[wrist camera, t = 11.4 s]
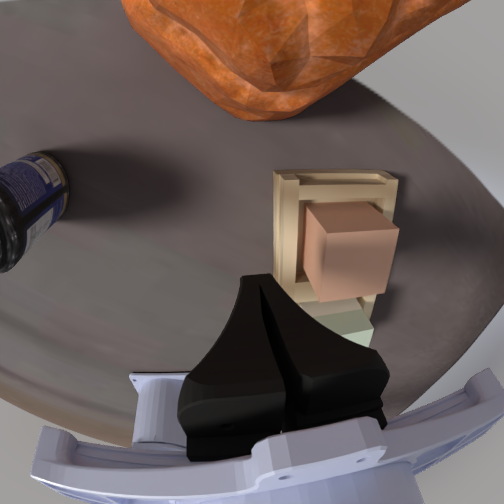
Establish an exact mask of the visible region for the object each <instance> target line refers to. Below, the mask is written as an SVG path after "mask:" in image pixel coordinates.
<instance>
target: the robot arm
mask: <svg viewBox="0 0 504 504" xmlns="http://www.w3.org/2000/svg"><path fill="white" fill-rule="evenodd" d="M389 377H390V374H389V370H388V368H387V366H386V365H385V363H384V361H383V359H382V358H381V356H380V355H379V354H378V352H377V351H376V350H374V349H371V348H368V347H365V346H363V345H360V344H357V343H355V342H353V341H351V340H349V339H347V338H344V337H342V336H341V335H339V334H337V333H335V332H333V331H332V330H330V329H328V328H327V327H325V326H324V325H322V324H321V323H319V322H318V321H317V320H315V319H314V318H313V317H311V316H310V315H309V314H308V313H307V312H305V311H304V310H303V309H302V308H301V307H300V306H299V305H298V304H297V303H296V302H295V301H294V300H293V299H292V298H291V297H290V296H289V295H288V294H287V293H286V292H285V291H284V289H283V288H282V287H281V286H280V285H279V283H278V282H277V281H276V280H275V278H274V277H273V276H272V275H271V274H270V273H269V274H258V275H246V276H242V277H241V278H240V288H239V292H238V296H237V299H236V302H235V305H234V308H233V310H232V313H231V315H230V318H229V320H228V322H227V324H226V326H225V328H224V329H223V331H222V333H221V335H220V336H219V338H218V339H217V341H216V342H215V344H214V345H213V347H212V348H211V349H210V351H209V352H208V353H207V354H206V355H205V357H204V358H203V359H202V360H201V361H200V363H199V364H198V365H197V366H196V367H195V368H194V369H193V370H192V371H191V372H190V373H131V374H130V376H129V378H130V379H131V381H132V383H133V385H134V387H135V388H136V390H137V392H138V394H139V399H138V405H137V412H136V419H135V426H134V434H133V442H132V446H131V448H122V447H114V446H105V445H100V444H93V443H87V442H82V441H77V439H76V438H75V437H74V436H73V435H72V434H70V433H69V432H67V431H64V430H61V429H56V428H52V427H48V426H42V429H41V432H40V436H39V440H38V444H37V447H36V451H35V455H34V459H33V464H32V468H31V473H30V476H31V477H32V478H34V479H35V480H37V481H39V482H40V483H42V484H44V485H46V486H47V487H49V488H51V489H53V490H54V491H56V492H58V493H60V494H62V495H64V496H66V497H69V498H73V499H76V500H79V501H83V502H87V503H91V504H424V501H423V498H422V496H421V493H420V490H419V488H418V485H417V482H416V480H415V477H414V475H416V474H418V473H420V472H422V471H424V470H426V469H428V468H430V467H431V466H433V465H435V464H437V463H439V462H441V461H442V460H444V459H445V458H447V457H449V456H451V455H452V454H454V453H456V452H457V451H459V450H460V449H462V448H464V447H465V446H467V445H468V444H470V443H472V442H473V441H475V440H476V439H478V438H479V437H481V436H482V435H484V434H485V433H486V432H487V431H488V430H489V429H491V428H492V427H493V426H494V425H495V424H496V423H497V421H499V420H500V419H501V418H502V417H503V416H504V389H503V387H502V386H501V384H500V382H499V381H498V380H497V378H496V377H495V375H494V374H493V372H492V371H491V369H490V368H487V369H485V370H483V371H481V372H479V373H477V374H475V375H474V376H473V377H471V378H470V379H469V381H468V382H467V383H466V385H465V386H464V388H462V389H461V390H458V391H456V392H454V393H452V394H450V395H448V396H446V397H443V398H441V399H439V400H437V401H434V402H432V403H430V404H427V405H425V406H422V407H420V408H417V409H415V410H412V411H409V412H407V413H404V414H402V415H399V416H396V417H393V418H390V419H387V420H386V418H385V416H384V413H383V411H382V409H381V408H382V407H383V402H382V400H381V398H380V396H381V394H382V392H383V390H384V388H385V387H386V385H387V383H388V380H389ZM281 430H282V433H281V434H280V432H281Z"/></svg>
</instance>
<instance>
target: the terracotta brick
mask: <svg viewBox="0 0 504 504" xmlns="http://www.w3.org/2000/svg"><path fill="white" fill-rule="evenodd" d="M398 234H399V228H398V227H397V226H395V225H394V224H393V223H392V222H391V221H390V220H388V219H387V218H386V217H385V216H384V215H382V214H381V213H380V212H379V211H377V210H376V209H375V208H374V207H372V206H371V205H370V204H369V203H367V202H366V201H351V202H321V203H304V217H303V238H302V255H301V264H302V266H303V268H304V270H305V272H306V275H307V277H308V279H309V281H310V283H311V285H312V287H313V290H314V292H315V294H316V296H317V298H318V300H319V302H327V301H335V300H342V299H349V298H356V297H362V296H369V295H375V294H381V293H385V289H386V286H387V282H388V278H389V274H390V270H391V266H392V261H393V257H394V253H395V248H396V243H397V238H398Z"/></svg>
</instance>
